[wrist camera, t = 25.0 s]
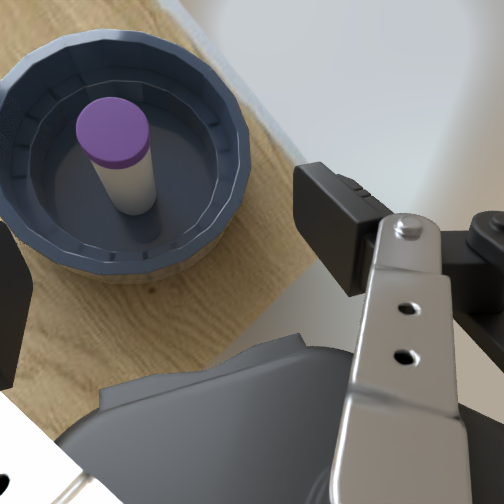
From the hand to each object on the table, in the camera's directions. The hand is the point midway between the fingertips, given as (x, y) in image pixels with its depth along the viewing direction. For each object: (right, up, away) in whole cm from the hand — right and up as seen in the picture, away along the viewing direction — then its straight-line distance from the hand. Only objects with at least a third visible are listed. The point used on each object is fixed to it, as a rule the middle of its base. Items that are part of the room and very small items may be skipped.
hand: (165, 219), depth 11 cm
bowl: (-6, +4, +18) cm, 20 cm away
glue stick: (-6, +3, +17) cm, 19 cm away
